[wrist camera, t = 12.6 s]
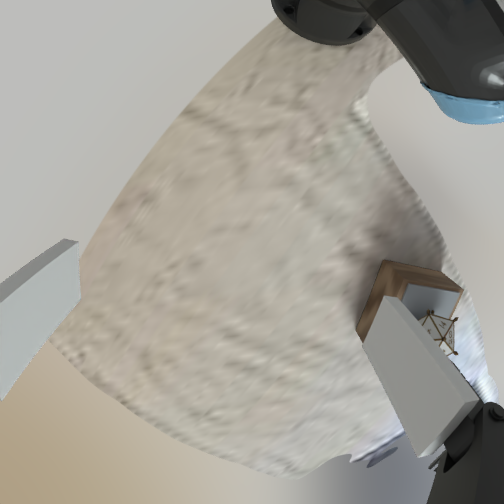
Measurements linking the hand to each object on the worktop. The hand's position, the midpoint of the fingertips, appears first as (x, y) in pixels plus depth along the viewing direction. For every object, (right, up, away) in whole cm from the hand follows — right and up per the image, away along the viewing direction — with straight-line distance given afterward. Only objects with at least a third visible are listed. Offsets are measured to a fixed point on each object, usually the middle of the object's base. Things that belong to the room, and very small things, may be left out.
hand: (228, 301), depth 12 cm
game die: (+26, -9, +27) cm, 38 cm away
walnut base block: (+26, -6, +34) cm, 43 cm away
